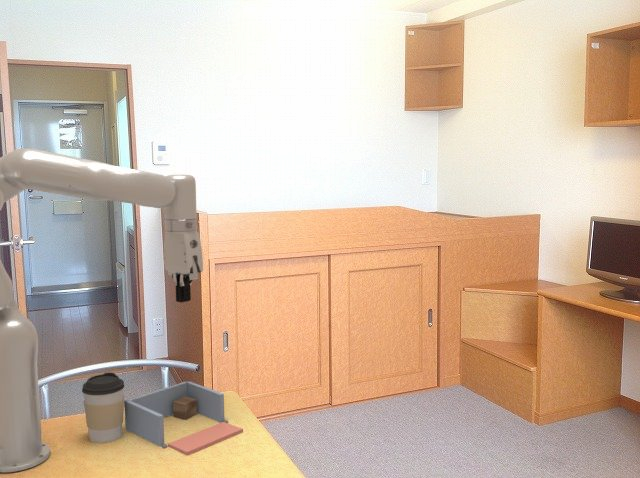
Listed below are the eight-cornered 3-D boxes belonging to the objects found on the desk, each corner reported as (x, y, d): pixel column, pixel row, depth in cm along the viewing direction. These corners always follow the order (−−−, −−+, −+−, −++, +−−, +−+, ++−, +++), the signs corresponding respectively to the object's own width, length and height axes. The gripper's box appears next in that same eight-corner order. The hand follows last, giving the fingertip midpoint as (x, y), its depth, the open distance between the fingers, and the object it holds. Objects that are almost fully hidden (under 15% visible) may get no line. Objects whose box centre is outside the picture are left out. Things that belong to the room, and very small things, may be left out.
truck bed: (164, 453, 138) (163, 418, 137) (125, 433, 148) (124, 400, 147) (228, 427, 151) (227, 395, 150) (188, 411, 161) (187, 380, 161)
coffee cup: (114, 451, 139) (110, 385, 137) (76, 448, 141) (73, 382, 139) (134, 434, 148) (131, 371, 146) (98, 431, 150) (95, 369, 148)
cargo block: (185, 420, 153) (185, 404, 153) (173, 417, 155) (172, 401, 155) (197, 415, 156) (196, 399, 156) (185, 411, 158) (184, 396, 158)
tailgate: (168, 449, 139) (187, 458, 134) (167, 443, 139) (187, 452, 134) (223, 427, 151) (243, 434, 146) (223, 421, 151) (242, 428, 146)
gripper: (213, 227, 151) (215, 303, 153) (175, 223, 161) (177, 294, 163) (187, 229, 145) (189, 308, 147) (149, 225, 155) (152, 299, 157)
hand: (183, 301), depth 155 cm, fingers closed
